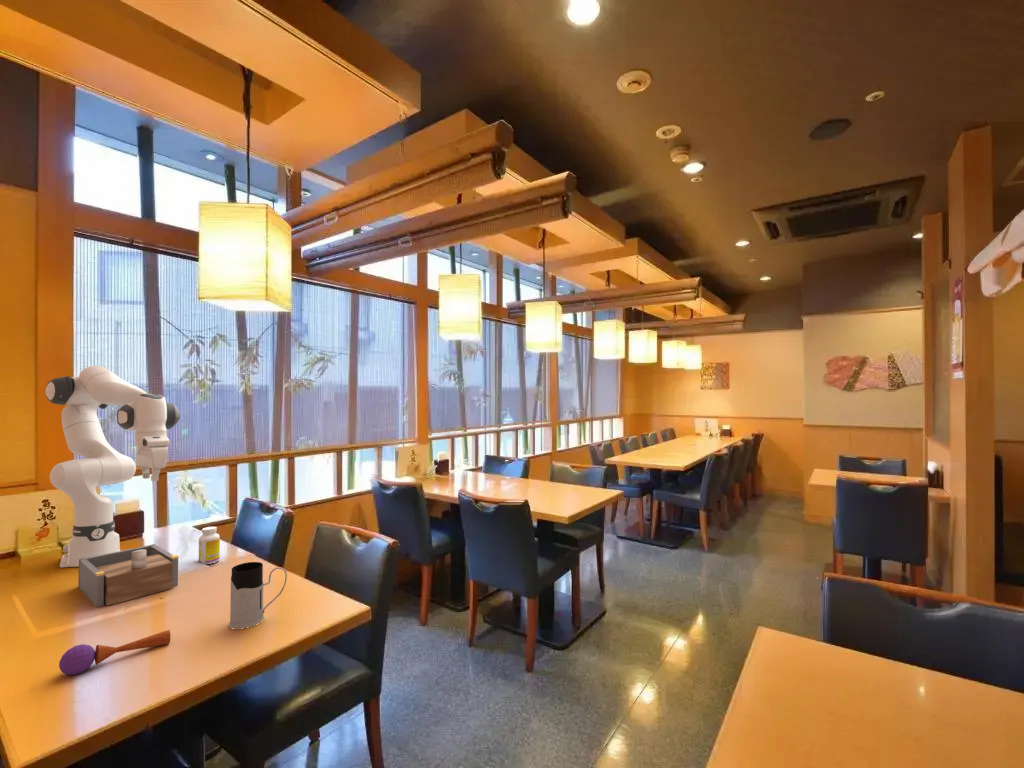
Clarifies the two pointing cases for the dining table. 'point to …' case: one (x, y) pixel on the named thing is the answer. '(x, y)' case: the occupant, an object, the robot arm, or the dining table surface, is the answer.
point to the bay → (94, 579)
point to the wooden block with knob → (136, 577)
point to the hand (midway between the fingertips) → (150, 479)
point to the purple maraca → (104, 653)
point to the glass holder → (248, 594)
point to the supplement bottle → (209, 546)
